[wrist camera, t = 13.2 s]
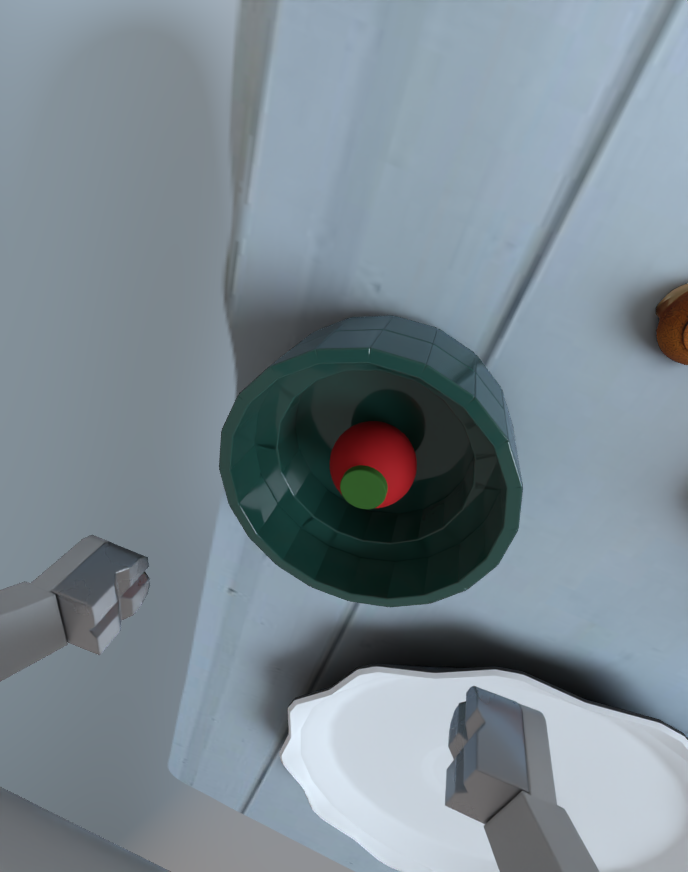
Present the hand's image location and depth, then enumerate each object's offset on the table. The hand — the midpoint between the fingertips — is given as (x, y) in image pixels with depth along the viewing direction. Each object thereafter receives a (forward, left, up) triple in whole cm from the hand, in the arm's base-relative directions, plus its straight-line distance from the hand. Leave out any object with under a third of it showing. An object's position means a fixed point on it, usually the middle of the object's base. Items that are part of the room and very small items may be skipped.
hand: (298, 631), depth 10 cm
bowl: (0, 0, -11) cm, 11 cm away
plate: (+24, +14, -11) cm, 30 cm away
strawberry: (+1, 0, -10) cm, 10 cm away
